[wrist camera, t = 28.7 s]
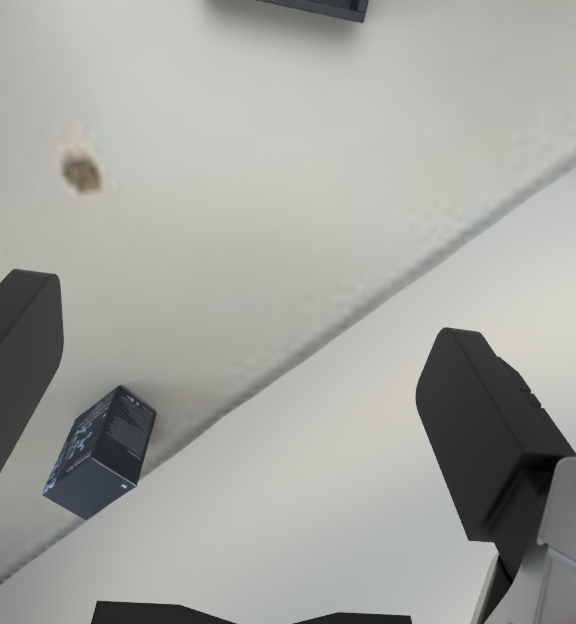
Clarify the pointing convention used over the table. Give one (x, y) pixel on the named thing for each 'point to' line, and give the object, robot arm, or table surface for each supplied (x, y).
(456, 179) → the table surface
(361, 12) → the pan
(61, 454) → the box
